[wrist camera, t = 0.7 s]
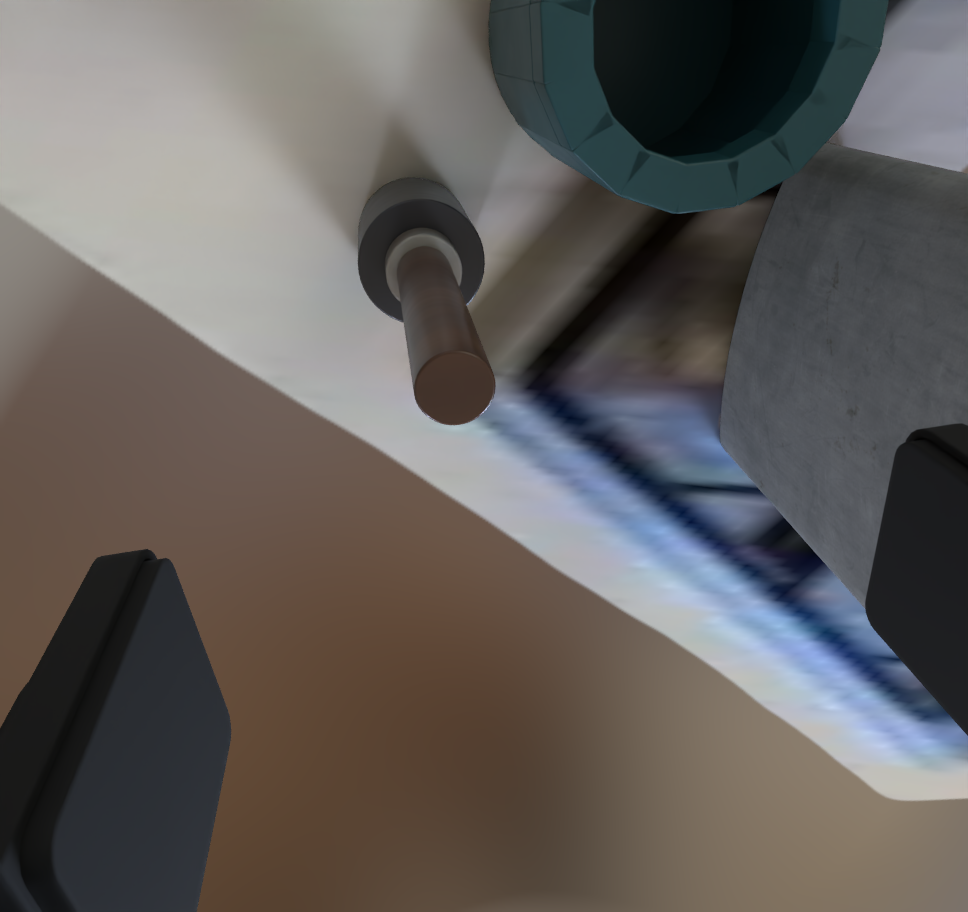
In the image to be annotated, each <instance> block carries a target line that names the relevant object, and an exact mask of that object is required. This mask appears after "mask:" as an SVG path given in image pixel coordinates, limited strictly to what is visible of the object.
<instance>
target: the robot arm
mask: <svg viewBox="0 0 968 912" xmlns="http://www.w3.org/2000/svg"><path fill="white" fill-rule="evenodd" d="M865 609H866V614H867V617H868V620H869V622H870V624H871V626H872V627H873V629H874V630H875V631H876V632H877V633H878V635H879V636H880V637H881V638H882V639H883V640H884V641H885V642H886V644H887V645H888V646H889V647H890V648H891V649H892V650H893V652H894V653H895V654H896V655H897V656H898V657H899V658H900V659H901V661H902V662H903V663H904V664H905V665H906V666H907V667H908V669H909V670H910V671H911V672H912V673H913V674H914V675H915V676H916V678H917V679H918V680H919V681H920V682H921V683H922V684H923V686H924V687H925V688H926V689H927V690H928V691H929V692H930V693H931V695H932V696H933V697H934V698H935V699H936V700H937V701H938V703H939V704H940V705H941V706H942V707H943V708H944V709H945V710H946V712H947V713H948V714H949V715H950V716H951V717H952V718H953V720H954V721H955V722H956V723H957V724H958V725H959V726H960V727H961V729H962V730H963V731H964V732H965V733H966V734H967V735H968V425H965V424H963V423H958V424H949V425H943V426H936V427H930V428H924V429H917V430H915V431H913V432H911V433H910V435H909V436H908V437H907V439H906V442H905V443H903V444H901V445H900V446H899V447H898V448H897V450H896V453H895V456H894V461H893V466H892V471H891V476H890V481H889V486H888V491H887V496H886V501H885V506H884V511H883V516H882V521H881V526H880V531H879V535H878V540H877V545H876V550H875V555H874V560H873V565H872V570H871V575H870V580H869V585H868V590H867V595H866V600H865ZM230 740H231V723H230V716H229V713H228V709H227V707H226V704H225V702H224V699H223V696H222V693H221V691H220V688H219V685H218V683H217V680H216V677H215V675H214V672H213V670H212V667H211V664H210V661H209V659H208V656H207V653H206V651H205V648H204V646H203V643H202V640H201V638H200V635H199V632H198V629H197V627H196V624H195V621H194V619H193V616H192V613H191V611H190V608H189V605H188V603H187V600H186V597H185V595H184V592H183V589H182V586H181V584H180V581H179V579H178V576H177V573H176V570H175V568H174V566H173V564H172V562H171V561H170V560H169V559H167V558H164V559H157V558H156V556H155V554H154V553H153V552H152V551H150V550H148V549H145V550H138V551H132V552H125V553H119V554H112V555H106V556H101V557H98V558H97V559H96V560H95V561H94V562H93V564H92V566H91V567H90V569H89V571H88V573H87V575H86V577H85V579H84V580H83V582H82V584H81V586H80V588H79V590H78V592H77V593H76V595H75V597H74V599H73V601H72V603H71V605H70V606H69V608H68V610H67V612H66V614H65V616H64V617H63V619H62V621H61V623H60V625H59V627H58V629H57V630H56V632H55V634H54V636H53V638H52V640H51V642H50V644H49V645H48V647H47V649H46V651H45V653H44V655H43V656H42V658H41V660H40V662H39V664H38V666H37V667H36V669H35V671H34V673H33V675H32V677H31V679H30V680H29V682H28V683H27V684H26V685H25V687H24V688H23V690H22V691H21V692H20V694H19V695H18V697H17V699H16V701H15V703H14V704H13V706H12V708H11V710H10V712H9V713H8V715H7V717H6V719H5V721H4V723H3V724H2V726H1V728H0V912H197V907H198V902H199V897H200V892H201V886H202V882H203V877H204V871H205V867H206V861H207V857H208V852H209V846H210V841H211V837H212V832H213V827H214V822H215V817H216V811H217V806H218V801H219V796H220V791H221V786H222V781H223V776H224V771H225V766H226V761H227V756H228V751H229V746H230Z"/></svg>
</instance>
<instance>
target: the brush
mask: <svg viewBox="0 0 968 912" xmlns="http://www.w3.org/2000/svg"><path fill="white" fill-rule="evenodd" d="M484 265H485V263H484V251H483V246H482V243H481V240H480V238H479V235H478V233H477V231H476V230H475V228H474V226H473V225H472V223H471V221H470V220H469V218H468V216H467V215H466V213H465V211H464V210H463V208H462V206H461V205H460V203H459V201H458V200H457V199H456V198H455V196H454V195H453V194H452V193H451V192H450V191H449V190H447V189H446V188H445V187H443V186H442V185H440V184H438V183H436V182H434V181H431V180H428V179H424V178H416V177H411V178H402V179H398V180H395V181H392V182H390V183H388V184H386V185H384V186H383V187H382V188H380V189H379V190H378V191H377V192H376V193H374V194H373V196H372V197H371V198H370V199H369V201H368V202H367V204H366V205H365V207H364V210H363V212H362V215H361V218H360V222H359V235H358V270H359V276H360V280H361V283H362V285H363V288H364V290H365V292H366V293H367V295H368V297H369V298H370V299H371V301H372V302H373V303H374V304H375V305H376V306H377V307H378V308H379V309H380V310H381V311H382V312H383V313H385V314H386V315H388V316H390V317H391V318H393V319H395V320H398V321H400V322H404V328H405V335H406V341H407V348H408V355H409V362H410V369H411V376H412V382H413V389H414V395H415V399H416V402H417V404H418V406H419V408H420V409H421V410H422V412H423V413H424V414H425V415H426V416H428V417H429V418H430V419H432V420H434V421H436V422H439V423H442V424H446V425H460V424H465V423H468V422H470V421H473V420H474V419H476V418H478V417H479V416H480V415H482V414H483V413H484V412H485V411H486V409H487V408H488V407H489V405H490V404H491V402H492V399H493V397H494V393H495V378H494V375H493V372H492V369H491V367H490V364H489V362H488V359H487V356H486V354H485V351H484V349H483V346H482V344H481V341H480V339H479V336H478V334H477V331H476V328H475V326H474V323H473V321H472V318H471V316H470V313H469V311H468V308H467V305H468V304H469V303H470V302H471V300H472V299H473V298H474V296H475V295H476V293H477V291H478V289H479V287H480V284H481V282H482V278H483V274H484Z"/></svg>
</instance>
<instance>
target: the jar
mask: <svg viewBox="0 0 968 912" xmlns="http://www.w3.org/2000/svg"><path fill="white" fill-rule="evenodd" d="M887 6H888V0H491V3H490V13H489V48H490V56H491V63H492V67H493V71H494V75H495V79H496V82H497V84H498V87H499V90H500V92H501V95H502V97H503V99H504V101H505V103H506V105H507V107H508V109H509V110H510V112H511V114H512V115H513V117H514V118H515V120H516V122H517V123H518V125H520V126H521V127H522V128H523V130H524V131H525V132H526V133H527V134H528V135H529V136H530V137H531V138H532V139H533V140H535V141H536V142H537V143H538V144H540V145H541V146H542V147H543V148H544V149H545V150H546V151H547V152H549V153H550V154H551V155H552V156H553V157H555V158H557V159H558V160H560V161H562V162H563V163H565V164H567V165H568V166H570V167H572V168H573V169H575V170H577V171H578V172H580V173H582V174H583V175H585V176H587V177H588V178H590V179H591V180H593V181H595V182H596V183H598V184H600V185H601V186H603V187H605V188H606V189H608V190H610V191H611V192H613V193H615V194H616V195H618V196H620V197H623V198H626V199H629V200H632V201H635V202H638V203H641V204H645V205H648V206H651V207H654V208H657V209H660V210H663V211H666V212H669V213H676V214H682V213H690V212H698V211H706V210H714V209H722V208H730V207H735V206H736V205H741V204H742V203H744V202H746V201H748V200H750V199H752V198H753V197H755V196H757V195H759V194H761V193H762V192H764V191H766V190H768V189H770V188H772V187H773V186H775V185H777V184H779V183H781V182H782V181H784V180H786V179H788V178H790V177H792V176H793V175H794V174H797V173H798V172H799V171H800V170H801V169H802V168H803V167H804V166H805V165H806V163H807V162H808V161H809V160H810V159H811V158H812V157H813V156H814V155H815V154H816V153H817V151H818V150H819V149H820V148H821V147H822V146H823V145H824V144H825V143H826V142H827V141H828V140H829V138H830V137H831V136H832V135H833V134H834V133H835V132H836V131H837V130H838V129H839V128H840V126H841V125H842V124H843V123H844V122H845V121H846V119H847V118H848V116H849V113H850V111H851V109H852V107H853V105H854V103H855V101H856V99H857V97H858V95H859V93H860V91H861V89H862V87H863V85H864V82H865V80H866V78H867V76H868V74H869V72H870V70H871V68H872V66H873V64H874V62H875V60H876V58H877V56H878V53H879V51H880V47H881V44H882V38H883V32H884V25H885V19H886V13H887Z"/></svg>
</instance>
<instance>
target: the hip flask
mask: <svg viewBox="0 0 968 912" xmlns="http://www.w3.org/2000/svg"><path fill="white" fill-rule="evenodd" d="M958 423H963V424H965V425H968V174H966V173H962V172H957V171H953V170H948V169H943V168H939V167H934V166H930V165H925V164H921V163H916V162H911V161H907V160H902V159H898V158H893V157H889V156H884V155H879V154H875V153H870V152H866V151H861V150H857V149H852V148H848V147H843V146H838V145H834V144H829V143H825V144H824V145H823V146H822V147H821V148H820V149H819V150H818V151H817V153H816V154H815V155H814V156H813V157H812V158H811V159H810V160H809V161H808V162H807V163H806V165H805V166H804V167H803V168H802V169H801V170H800V171H799V172H798V173H797V174H794V175H793V176H792V177H790V178H788V179H786V180H784V181H783V183H782V185H781V188H780V190H779V192H778V194H777V197H776V199H775V202H774V204H773V207H772V209H771V211H770V214H769V216H768V219H767V221H766V224H765V227H764V230H763V232H762V235H761V238H760V241H759V244H758V246H757V249H756V252H755V255H754V259H753V262H752V265H751V268H750V271H749V274H748V278H747V281H746V285H745V288H744V291H743V295H742V299H741V303H740V307H739V311H738V315H737V319H736V323H735V327H734V332H733V336H732V341H731V345H730V350H729V355H728V361H727V367H726V373H725V380H724V388H723V395H722V406H721V420H720V442H721V445H722V447H723V448H724V450H725V451H726V452H727V453H728V454H729V455H730V456H731V458H732V459H733V460H734V461H735V462H736V463H737V464H738V465H739V467H740V468H741V469H742V470H743V471H744V472H745V473H746V475H747V476H748V477H749V478H750V479H751V480H752V481H753V482H754V484H755V485H756V486H757V487H758V488H759V489H760V490H761V492H762V493H763V494H764V495H765V496H766V497H767V498H768V499H769V501H770V502H771V503H772V504H773V505H774V506H775V507H776V509H777V510H778V511H779V512H780V513H781V514H782V515H783V516H784V518H785V519H786V520H787V521H788V522H789V523H790V524H791V525H792V527H793V528H794V529H795V530H796V531H797V532H798V533H799V535H800V536H801V537H802V538H803V539H804V540H805V541H806V542H807V544H808V545H809V546H810V547H811V548H812V549H813V550H814V552H815V553H816V554H817V555H818V556H819V557H820V558H821V559H822V561H823V562H824V563H825V564H826V565H827V566H828V567H829V568H830V570H831V571H832V572H833V573H834V574H835V575H836V576H837V578H838V579H839V580H840V581H841V582H842V583H843V584H844V585H845V587H846V588H847V589H848V590H849V591H850V592H851V593H852V595H853V596H854V597H855V598H856V599H857V600H858V601H859V602H860V604H861V605H862V606H863V607H864V608H865V600H866V595H867V590H868V585H869V580H870V575H871V570H872V565H873V560H874V555H875V550H876V545H877V540H878V535H879V531H880V526H881V521H882V516H883V511H884V506H885V501H886V496H887V491H888V486H889V481H890V476H891V471H892V466H893V461H894V456H895V453H896V450H897V448H898V447H899V446H900V445H901V444H903V443H905V442H906V439H907V437H908V436H909V435H910V433H911V432H913V431H915V430H917V429H924V428H930V427H936V426H943V425H949V424H958Z"/></svg>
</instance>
